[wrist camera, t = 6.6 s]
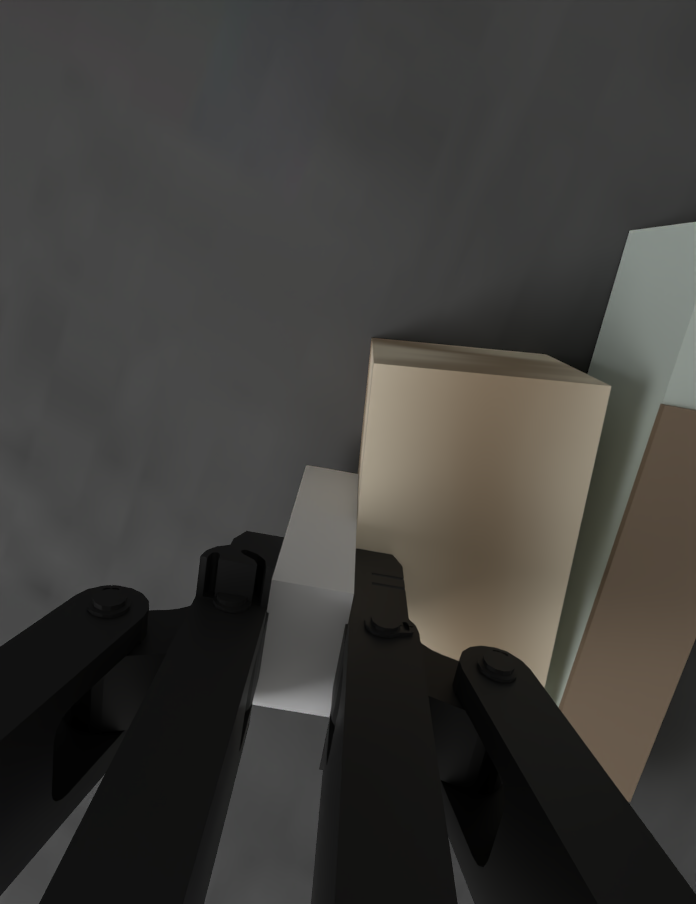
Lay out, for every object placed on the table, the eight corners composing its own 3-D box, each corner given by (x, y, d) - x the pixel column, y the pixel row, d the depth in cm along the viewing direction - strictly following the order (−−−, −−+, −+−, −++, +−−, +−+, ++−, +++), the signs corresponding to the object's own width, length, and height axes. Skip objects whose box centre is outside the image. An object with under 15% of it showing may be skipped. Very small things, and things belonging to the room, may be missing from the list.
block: (343, 610, 20) (336, 717, 15) (371, 336, 18) (373, 363, 13) (494, 624, 20) (533, 735, 15) (544, 353, 18) (611, 386, 13)
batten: (472, 761, 22) (500, 892, 17) (629, 230, 16) (728, 217, 12) (542, 773, 22) (588, 905, 17) (720, 247, 16) (854, 240, 12)
